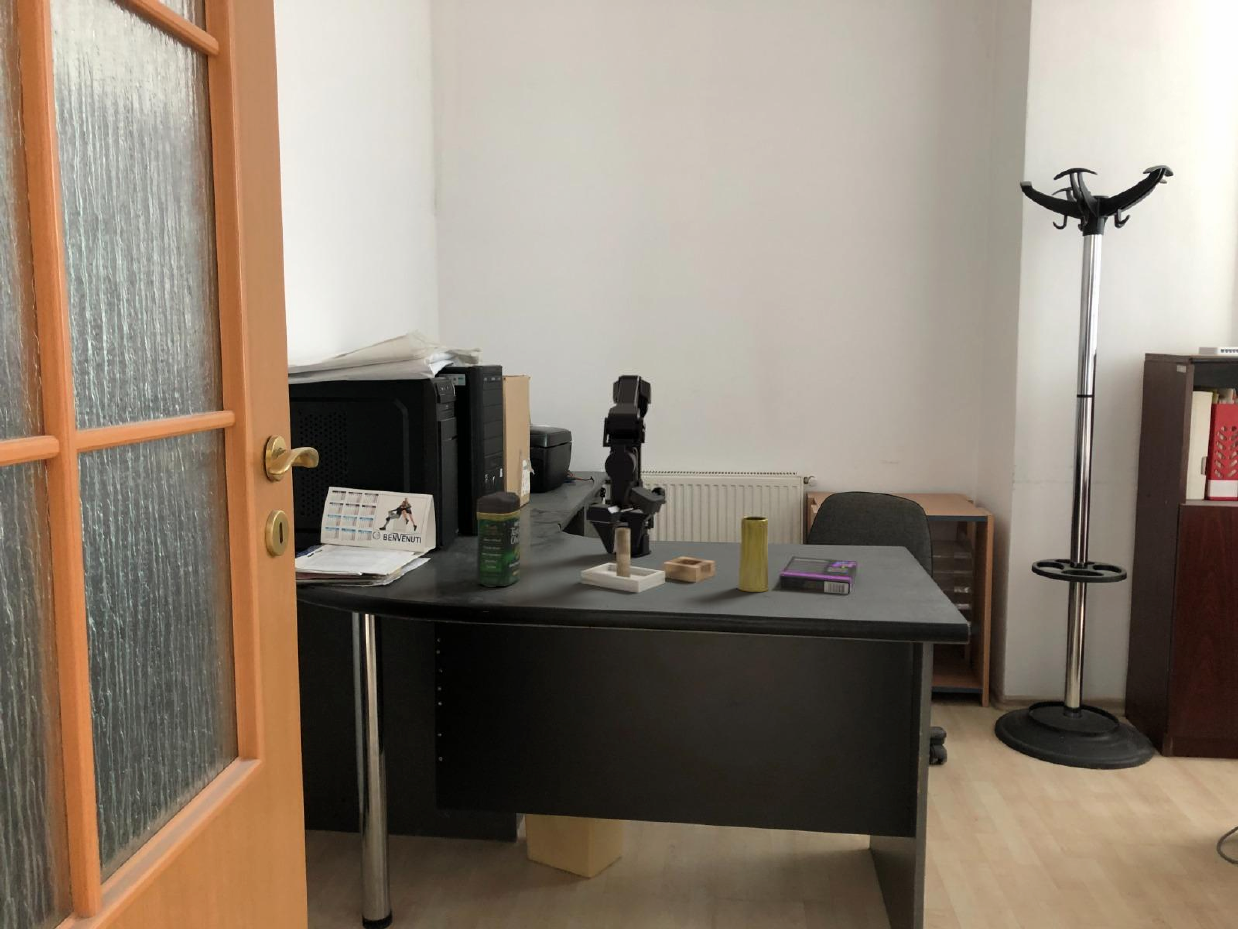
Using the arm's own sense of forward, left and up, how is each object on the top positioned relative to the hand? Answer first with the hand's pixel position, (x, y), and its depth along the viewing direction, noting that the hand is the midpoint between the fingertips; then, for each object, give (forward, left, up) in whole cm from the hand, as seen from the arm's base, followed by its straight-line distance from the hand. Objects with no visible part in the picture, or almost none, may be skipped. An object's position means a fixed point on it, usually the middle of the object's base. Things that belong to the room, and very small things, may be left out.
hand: (623, 550), depth 201 cm
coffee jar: (-21, -14, -7) cm, 26 cm away
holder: (+8, +13, -7) cm, 17 cm away
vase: (+24, +11, -7) cm, 27 cm away
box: (+32, +25, -8) cm, 42 cm away
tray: (0, 0, -7) cm, 7 cm away
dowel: (0, 0, -6) cm, 6 cm away
